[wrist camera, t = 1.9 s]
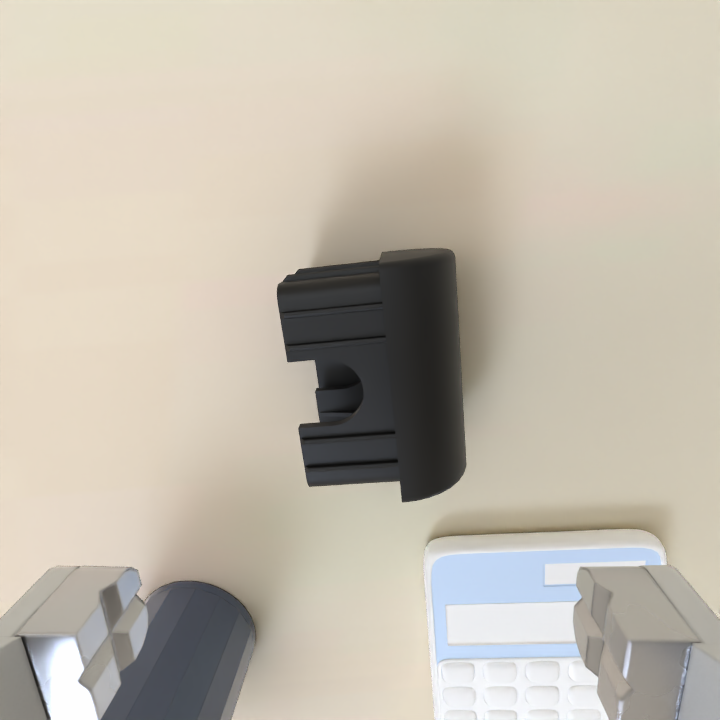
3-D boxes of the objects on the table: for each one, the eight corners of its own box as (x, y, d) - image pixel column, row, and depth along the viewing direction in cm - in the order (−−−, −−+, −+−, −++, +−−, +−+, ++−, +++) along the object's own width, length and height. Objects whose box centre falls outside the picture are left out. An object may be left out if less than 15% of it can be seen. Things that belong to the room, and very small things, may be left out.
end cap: (456, 430, 26) (477, 501, 19) (328, 439, 26) (307, 510, 20) (444, 243, 23) (465, 253, 16) (302, 259, 24) (268, 275, 17)
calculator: (438, 770, 33) (440, 802, 32) (420, 532, 28) (422, 554, 26) (633, 771, 32) (648, 804, 30) (657, 522, 26) (676, 544, 25)
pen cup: (248, 581, 30) (179, 753, 20) (262, 676, 32) (206, 871, 22) (129, 580, 30) (7, 746, 21) (151, 673, 33) (50, 862, 23)
